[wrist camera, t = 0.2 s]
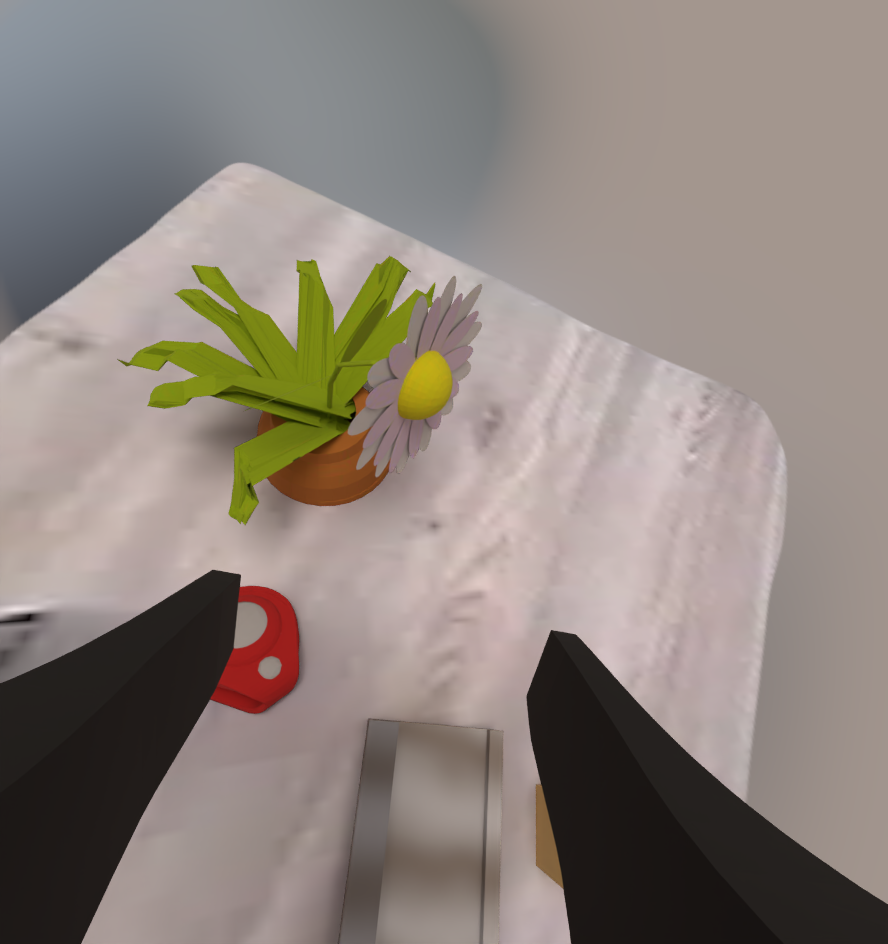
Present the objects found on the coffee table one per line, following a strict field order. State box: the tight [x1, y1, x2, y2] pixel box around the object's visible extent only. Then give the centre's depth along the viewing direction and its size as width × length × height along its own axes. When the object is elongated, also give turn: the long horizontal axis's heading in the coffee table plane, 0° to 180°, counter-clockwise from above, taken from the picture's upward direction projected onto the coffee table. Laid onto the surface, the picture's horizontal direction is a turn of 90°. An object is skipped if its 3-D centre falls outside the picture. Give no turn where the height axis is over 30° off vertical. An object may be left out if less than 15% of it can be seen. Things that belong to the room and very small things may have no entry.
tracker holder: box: [210, 586, 299, 714], centre depth 37 cm, size 12×4×10 cm
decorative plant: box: [117, 256, 482, 525], centre depth 37 cm, size 27×24×25 cm
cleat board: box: [338, 719, 503, 944], centre depth 32 cm, size 18×10×6 cm, turn 175°
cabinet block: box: [536, 785, 564, 889], centre depth 34 cm, size 5×6×6 cm
